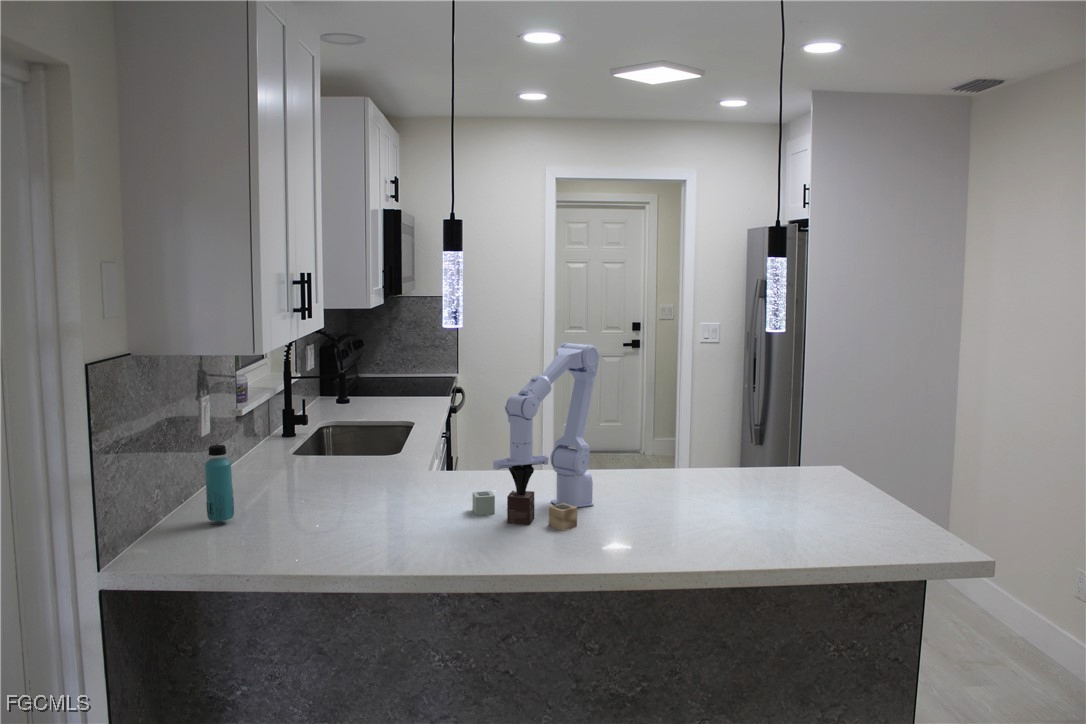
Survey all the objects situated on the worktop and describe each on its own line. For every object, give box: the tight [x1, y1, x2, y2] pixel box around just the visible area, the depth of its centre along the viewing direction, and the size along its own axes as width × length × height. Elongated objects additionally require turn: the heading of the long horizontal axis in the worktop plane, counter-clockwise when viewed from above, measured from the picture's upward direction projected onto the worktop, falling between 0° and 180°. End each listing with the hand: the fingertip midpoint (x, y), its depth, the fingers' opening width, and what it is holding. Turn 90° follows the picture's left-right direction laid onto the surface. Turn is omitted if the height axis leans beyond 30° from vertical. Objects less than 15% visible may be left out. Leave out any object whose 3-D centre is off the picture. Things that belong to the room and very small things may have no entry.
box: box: [506, 490, 536, 526], centre depth 219 cm, size 6×6×7 cm
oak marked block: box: [548, 503, 578, 531], centre depth 215 cm, size 5×5×5 cm
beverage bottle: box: [204, 444, 235, 522], centre depth 215 cm, size 6×7×20 cm
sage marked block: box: [472, 490, 496, 516], centre depth 226 cm, size 5×5×5 cm
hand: (520, 494), depth 218 cm, fingers closed, pressing on box
